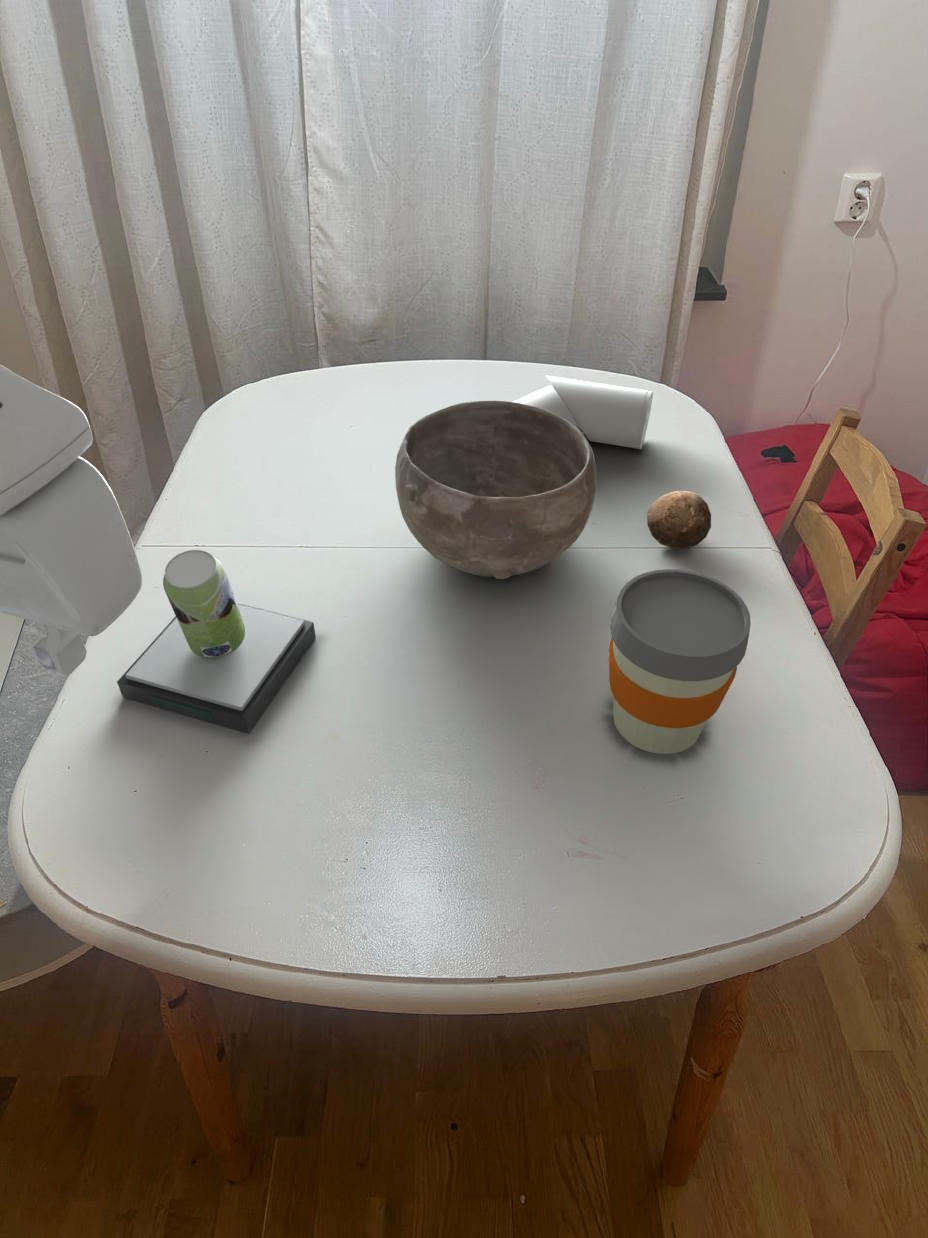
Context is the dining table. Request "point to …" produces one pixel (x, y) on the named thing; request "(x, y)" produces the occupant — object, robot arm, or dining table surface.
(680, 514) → the brown potato
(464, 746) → the dining table surface
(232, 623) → the beverage can
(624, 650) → the reusable coffee cup
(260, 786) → the dining table surface
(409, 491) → the bowl
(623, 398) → the elbow connector
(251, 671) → the kitchen scale
